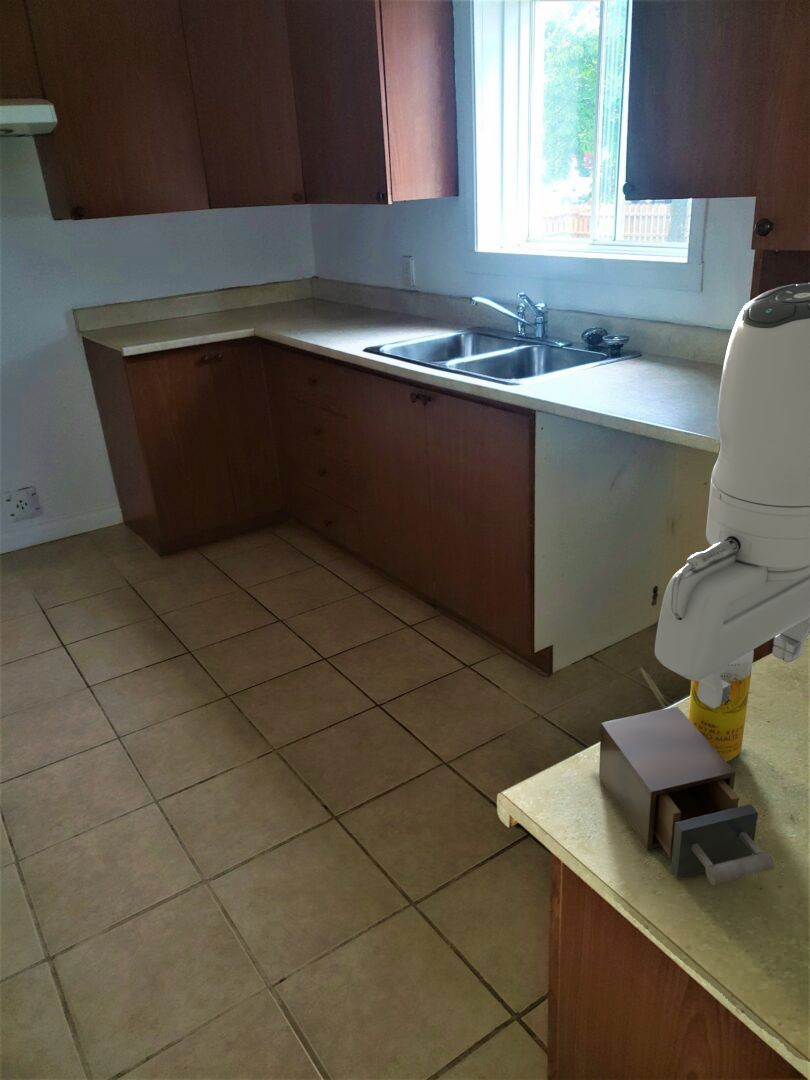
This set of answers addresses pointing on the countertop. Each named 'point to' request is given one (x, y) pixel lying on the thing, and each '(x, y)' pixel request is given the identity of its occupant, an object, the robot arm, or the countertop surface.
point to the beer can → (725, 709)
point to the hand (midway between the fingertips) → (750, 678)
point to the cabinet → (655, 763)
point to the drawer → (709, 833)
